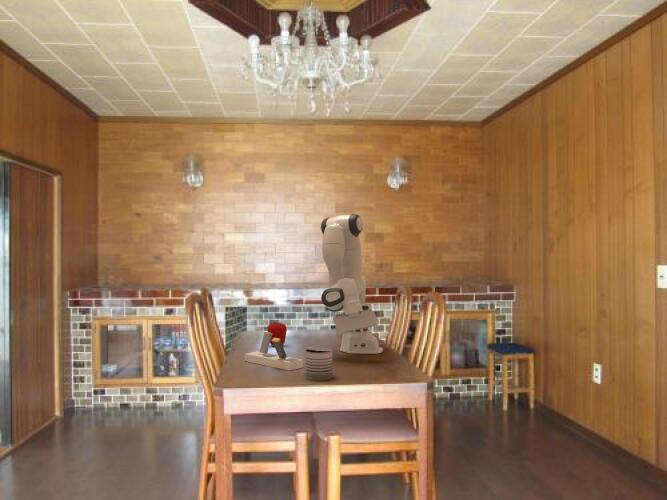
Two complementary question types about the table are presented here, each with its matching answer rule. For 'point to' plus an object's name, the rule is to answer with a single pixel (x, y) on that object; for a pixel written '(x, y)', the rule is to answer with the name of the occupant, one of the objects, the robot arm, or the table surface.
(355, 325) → the robot arm
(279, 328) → the red rounded lump
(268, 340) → the grey rocker
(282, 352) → the black rocker
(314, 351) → the can
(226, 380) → the table surface
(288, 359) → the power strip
